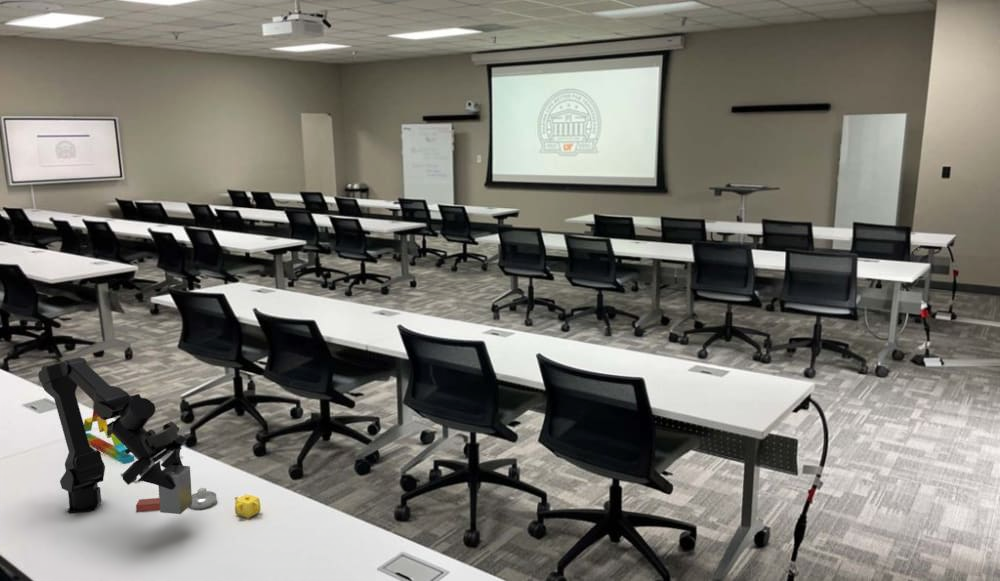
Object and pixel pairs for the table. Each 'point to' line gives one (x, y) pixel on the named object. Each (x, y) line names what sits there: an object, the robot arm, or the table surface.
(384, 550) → the table surface
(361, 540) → the table surface
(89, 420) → the chart
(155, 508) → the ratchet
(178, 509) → the brushed steel square block
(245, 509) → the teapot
